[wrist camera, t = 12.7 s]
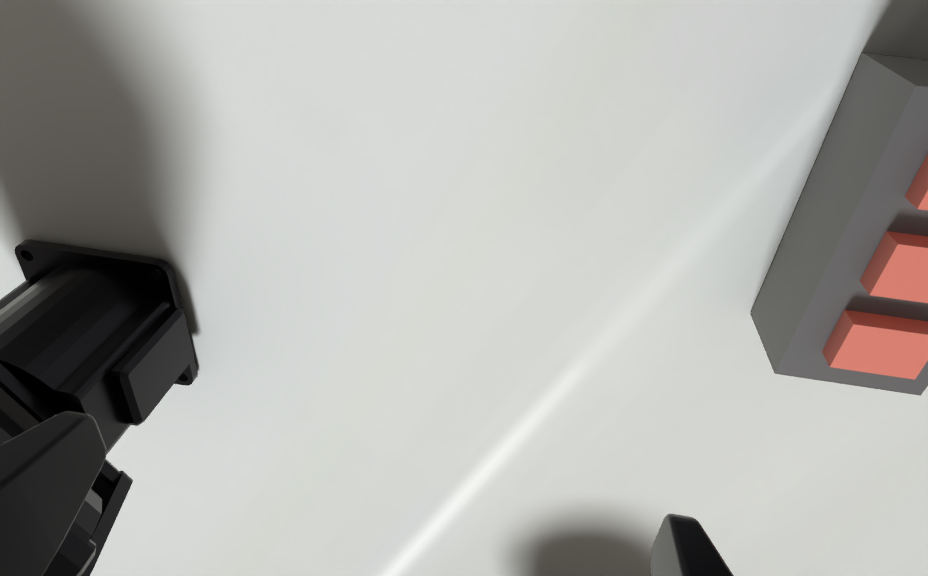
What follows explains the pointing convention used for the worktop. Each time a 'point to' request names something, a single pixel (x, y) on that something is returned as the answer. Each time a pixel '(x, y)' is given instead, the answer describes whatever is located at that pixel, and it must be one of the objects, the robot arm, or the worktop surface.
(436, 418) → the worktop surface
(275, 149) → the worktop surface
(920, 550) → the worktop surface
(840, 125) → the gray power strip
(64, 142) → the worktop surface
